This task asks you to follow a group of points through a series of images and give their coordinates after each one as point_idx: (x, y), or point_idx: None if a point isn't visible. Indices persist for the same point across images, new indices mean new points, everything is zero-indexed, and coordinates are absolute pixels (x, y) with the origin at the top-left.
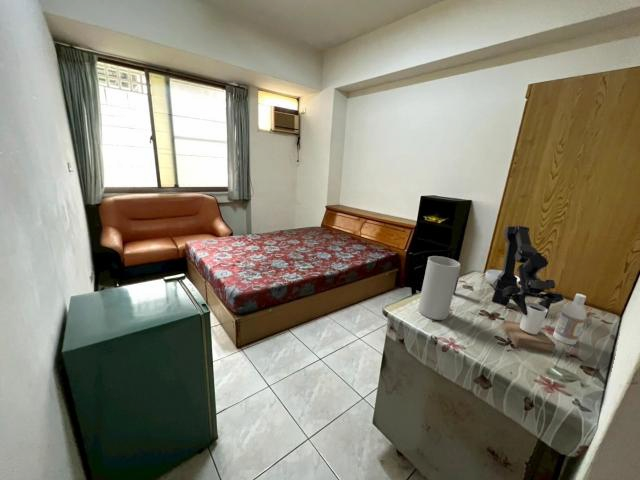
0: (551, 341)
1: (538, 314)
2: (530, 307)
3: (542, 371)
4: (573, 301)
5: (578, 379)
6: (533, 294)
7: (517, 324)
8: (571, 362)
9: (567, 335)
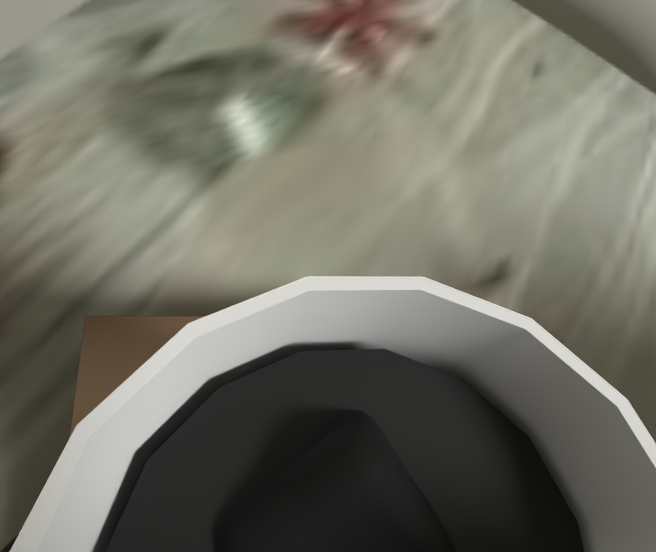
0: (96, 364)
1: (393, 317)
2: None
3: (344, 110)
4: None
5: (130, 83)
6: None
7: None
8: (12, 258)
9: None
